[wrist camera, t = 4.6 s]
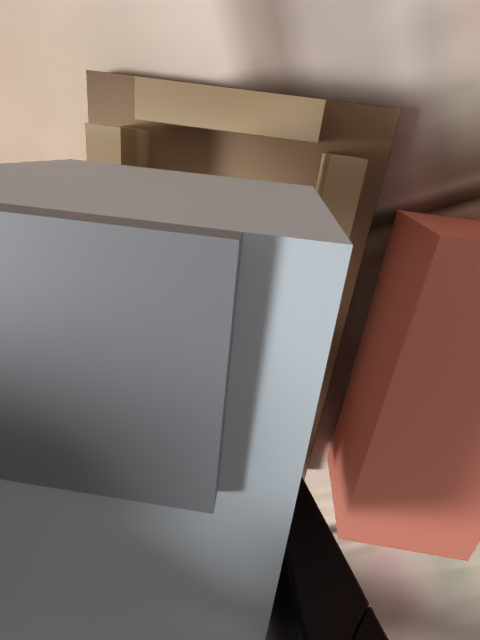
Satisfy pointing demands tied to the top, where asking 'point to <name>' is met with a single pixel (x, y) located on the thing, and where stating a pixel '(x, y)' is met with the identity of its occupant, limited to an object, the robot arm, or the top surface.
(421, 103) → the top surface
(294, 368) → the pale blue slab
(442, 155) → the top surface
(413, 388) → the salmon pink slab
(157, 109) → the jig
